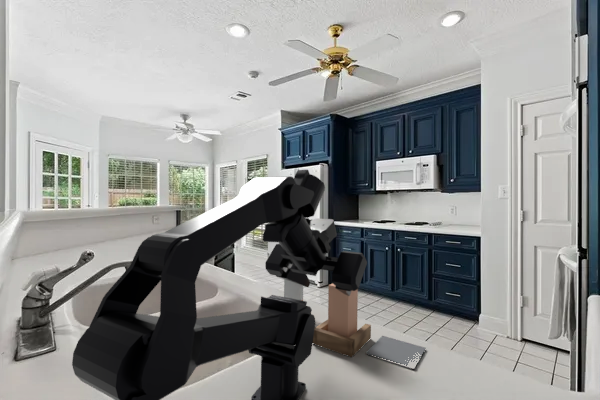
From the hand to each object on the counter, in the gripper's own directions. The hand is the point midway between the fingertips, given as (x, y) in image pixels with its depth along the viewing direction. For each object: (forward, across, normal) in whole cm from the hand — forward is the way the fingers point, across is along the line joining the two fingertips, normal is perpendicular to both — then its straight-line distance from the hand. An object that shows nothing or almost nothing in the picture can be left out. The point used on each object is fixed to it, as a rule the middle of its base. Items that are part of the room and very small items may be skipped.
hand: (328, 289), depth 58 cm
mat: (+15, -11, +3) cm, 19 cm away
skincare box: (+17, +16, +1) cm, 24 cm away
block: (+13, 0, +4) cm, 14 cm away
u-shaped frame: (+13, 0, +4) cm, 14 cm away
